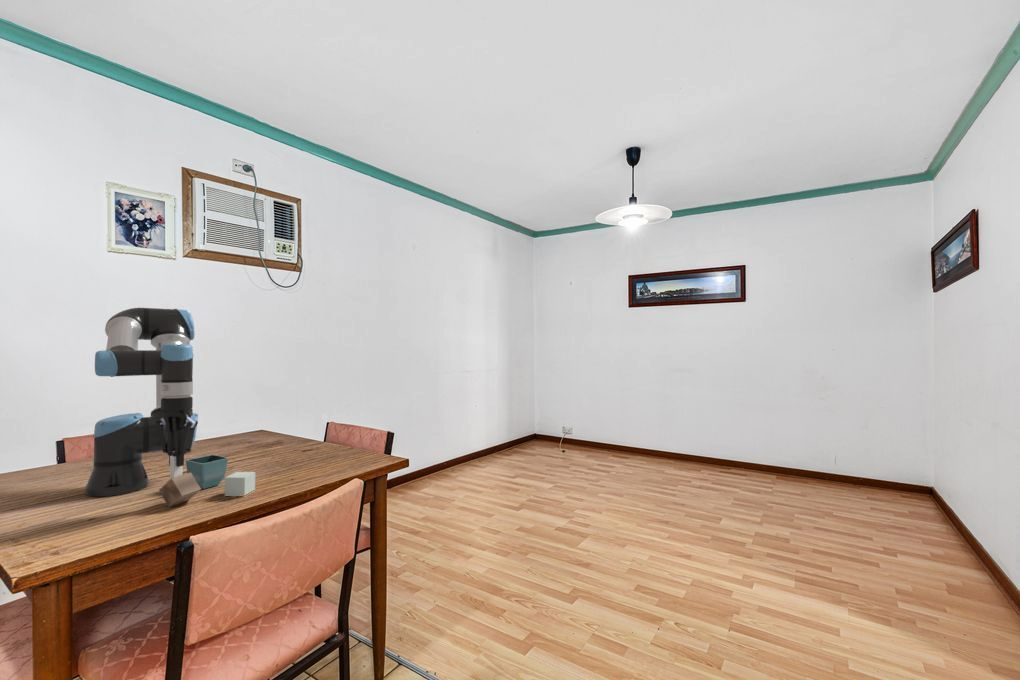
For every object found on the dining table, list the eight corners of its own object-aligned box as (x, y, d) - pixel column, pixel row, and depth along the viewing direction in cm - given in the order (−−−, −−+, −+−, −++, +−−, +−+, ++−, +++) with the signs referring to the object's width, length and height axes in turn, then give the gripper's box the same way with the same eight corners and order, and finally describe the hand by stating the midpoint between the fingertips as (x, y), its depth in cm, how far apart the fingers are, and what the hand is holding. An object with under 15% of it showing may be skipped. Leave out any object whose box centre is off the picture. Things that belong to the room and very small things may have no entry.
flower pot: (228, 484, 151) (229, 457, 151) (201, 492, 143) (201, 463, 143) (212, 480, 154) (212, 454, 155) (184, 488, 146) (184, 460, 147)
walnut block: (158, 490, 131) (171, 478, 129) (178, 483, 136) (191, 472, 135) (168, 507, 130) (182, 495, 128) (188, 500, 135) (201, 489, 134)
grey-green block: (224, 497, 139) (224, 477, 139) (236, 490, 145) (236, 471, 145) (244, 497, 139) (244, 477, 139) (255, 490, 145) (255, 471, 145)
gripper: (146, 397, 131) (146, 479, 131) (182, 398, 128) (182, 482, 128) (171, 394, 138) (171, 472, 138) (206, 395, 135) (205, 475, 135)
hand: (176, 477), depth 133 cm, fingers closed
